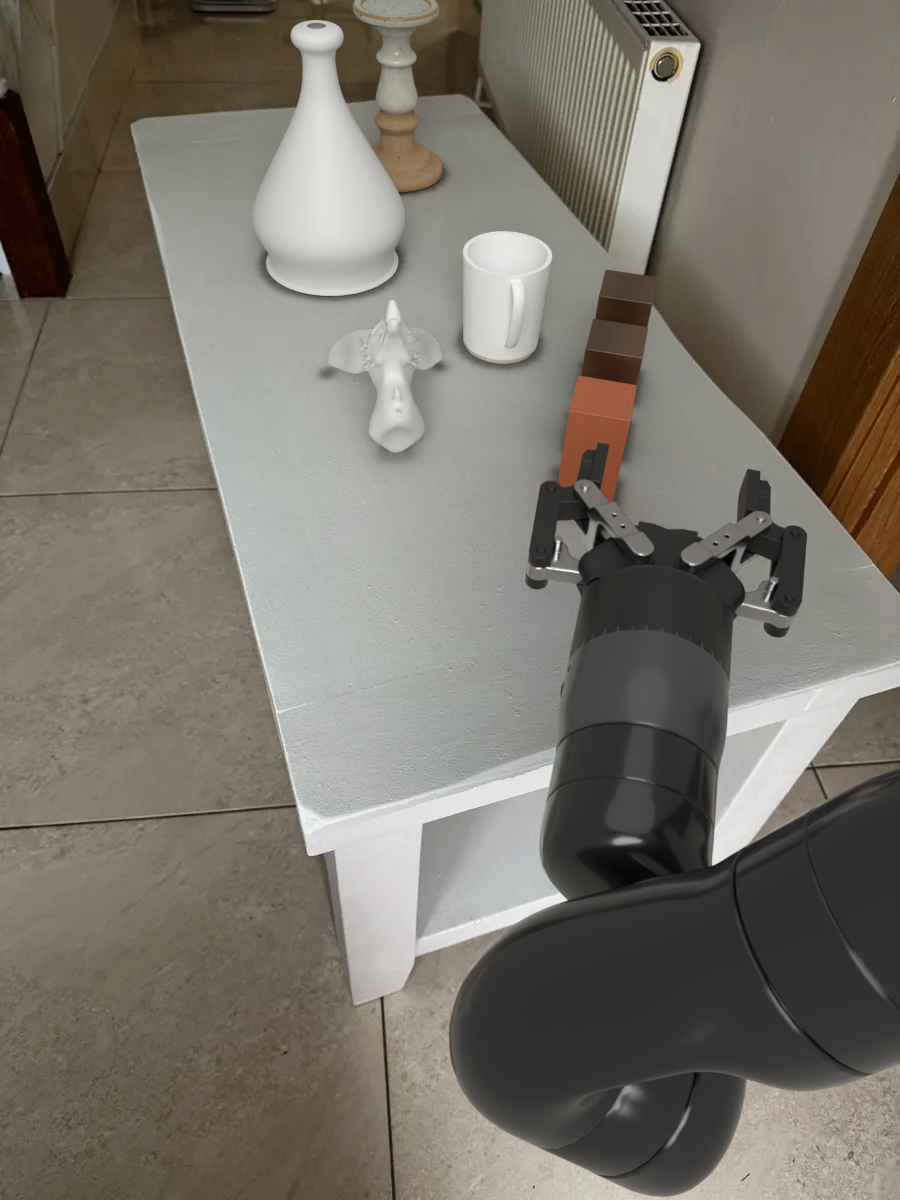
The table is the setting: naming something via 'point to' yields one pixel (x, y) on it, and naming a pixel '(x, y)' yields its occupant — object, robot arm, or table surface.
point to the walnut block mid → (614, 351)
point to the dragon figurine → (390, 374)
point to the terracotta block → (597, 428)
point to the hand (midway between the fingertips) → (674, 467)
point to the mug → (504, 295)
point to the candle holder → (400, 91)
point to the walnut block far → (626, 298)
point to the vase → (327, 187)
